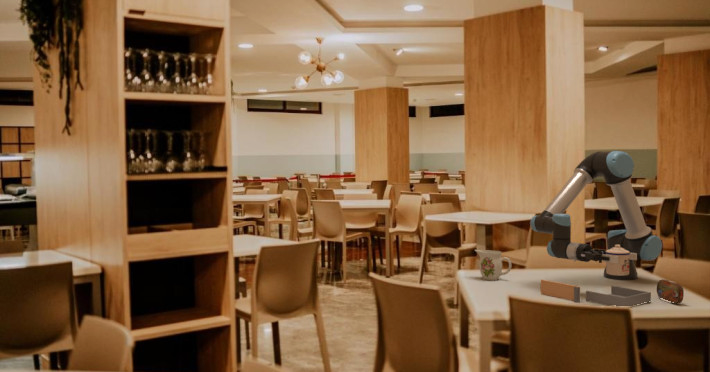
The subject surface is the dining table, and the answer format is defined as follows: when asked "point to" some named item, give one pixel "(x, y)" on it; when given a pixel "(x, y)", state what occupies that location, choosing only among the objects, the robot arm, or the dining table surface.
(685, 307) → the dining table surface
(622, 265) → the teacup with lid
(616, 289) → the grey tray
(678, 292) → the tin
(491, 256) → the pitcher
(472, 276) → the dining table surface
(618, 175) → the robot arm
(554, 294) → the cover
